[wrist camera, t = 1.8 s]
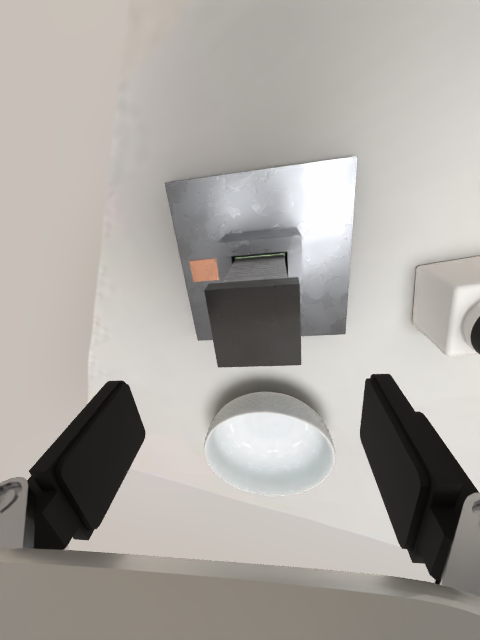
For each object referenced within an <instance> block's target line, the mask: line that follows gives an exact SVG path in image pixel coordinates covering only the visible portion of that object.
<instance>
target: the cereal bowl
mask: <svg viewBox="0 0 480 640" xmlns="http://www.w3.org/2000/svg"><path fill="white" fill-rule="evenodd" d="M204 447H205V457H206V460H207V462H208V464H209V466H210V468H211V469H212V470H213V471H214V473H215V474H216V475H217V476H218V477H220V478H221V479H222V480H223V481H225V482H226V483H228V484H230V485H231V486H233V487H235V488H238V489H240V490H243V491H246V492H249V493H253V494H258V495H265V496H287V495H293V494H298V493H302V492H305V491H307V490H310V489H312V488H314V487H316V486H317V485H319V484H320V483H321V482H323V481H324V480H325V479H326V478H327V477H328V475H329V474H330V473H331V471H332V469H333V467H334V464H335V449H334V445H333V442H332V439H331V435H330V434H329V430H328V429H327V427H326V425H325V424H324V422H323V420H322V419H321V418H320V416H319V415H318V414H317V413H316V412H315V411H314V410H313V409H312V408H311V407H309V406H308V405H307V404H305V403H304V402H302V401H300V400H298V399H296V398H294V397H292V396H289V395H286V394H282V393H276V392H275V393H274V392H256V393H250V394H246V395H243V396H240V397H238V398H236V399H234V400H232V401H230V402H229V403H227V404H226V405H225V406H223V408H222V409H221V410H220V411H219V412H218V413H217V414H216V416H215V418H214V419H213V421H212V422H211V425H210V427H209V429H208V433H207V436H206V439H205V446H204Z"/></svg>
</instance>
